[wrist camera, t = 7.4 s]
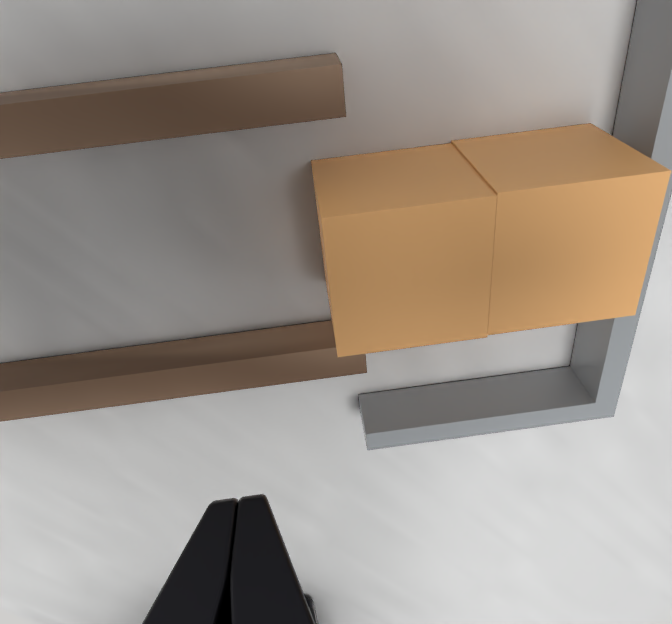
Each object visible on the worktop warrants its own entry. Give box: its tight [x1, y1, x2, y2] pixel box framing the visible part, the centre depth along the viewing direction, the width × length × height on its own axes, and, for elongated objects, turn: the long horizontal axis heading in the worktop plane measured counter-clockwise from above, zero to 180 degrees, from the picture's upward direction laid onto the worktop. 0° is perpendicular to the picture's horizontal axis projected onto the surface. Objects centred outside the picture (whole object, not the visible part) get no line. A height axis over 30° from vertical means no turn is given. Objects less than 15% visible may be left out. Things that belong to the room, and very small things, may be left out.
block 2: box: [452, 123, 671, 335], centre depth 15 cm, size 4×4×4 cm
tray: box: [359, 0, 672, 450], centre depth 16 cm, size 16×9×2 cm, turn 5°
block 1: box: [311, 143, 497, 357], centre depth 15 cm, size 4×4×4 cm
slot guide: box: [0, 53, 367, 421], centre depth 16 cm, size 9×14×2 cm
